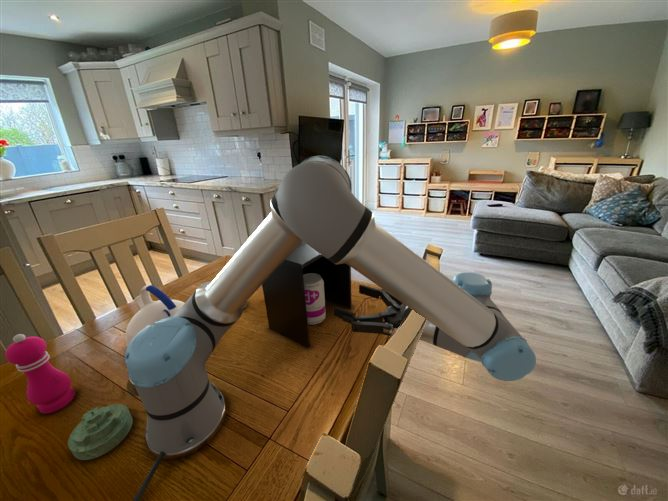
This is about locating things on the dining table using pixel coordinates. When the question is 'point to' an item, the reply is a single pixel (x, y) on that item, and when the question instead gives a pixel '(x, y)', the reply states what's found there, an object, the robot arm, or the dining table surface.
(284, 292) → the box
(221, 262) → the dining table surface
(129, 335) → the kettle
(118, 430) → the decorative artifact
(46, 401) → the pepper mill
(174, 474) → the dining table surface
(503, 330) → the robot arm
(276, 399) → the dining table surface
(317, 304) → the supplement can
